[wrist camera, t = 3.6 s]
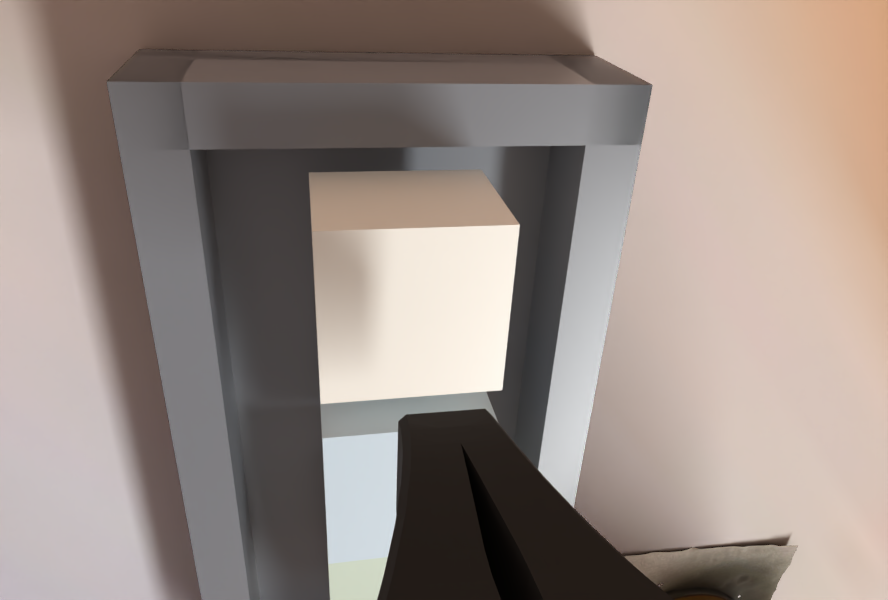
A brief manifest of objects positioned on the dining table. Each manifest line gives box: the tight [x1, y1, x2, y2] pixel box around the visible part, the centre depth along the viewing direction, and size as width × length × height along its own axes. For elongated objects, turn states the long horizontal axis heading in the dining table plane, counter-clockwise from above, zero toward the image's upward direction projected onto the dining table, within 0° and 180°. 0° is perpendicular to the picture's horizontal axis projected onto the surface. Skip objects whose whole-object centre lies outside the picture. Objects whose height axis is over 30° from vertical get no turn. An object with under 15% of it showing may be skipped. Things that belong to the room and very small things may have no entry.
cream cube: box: [309, 169, 520, 404], centre depth 13 cm, size 3×3×3 cm
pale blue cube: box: [318, 365, 498, 564], centre depth 15 cm, size 3×3×3 cm
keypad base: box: [107, 49, 652, 600], centre depth 19 cm, size 10×19×3 cm, turn 177°
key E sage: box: [323, 470, 388, 600], centre depth 19 cm, size 3×3×3 cm
